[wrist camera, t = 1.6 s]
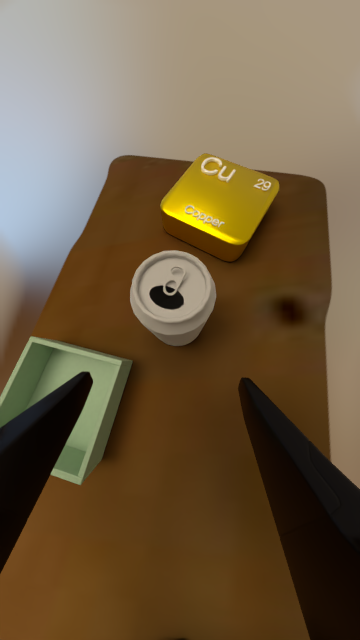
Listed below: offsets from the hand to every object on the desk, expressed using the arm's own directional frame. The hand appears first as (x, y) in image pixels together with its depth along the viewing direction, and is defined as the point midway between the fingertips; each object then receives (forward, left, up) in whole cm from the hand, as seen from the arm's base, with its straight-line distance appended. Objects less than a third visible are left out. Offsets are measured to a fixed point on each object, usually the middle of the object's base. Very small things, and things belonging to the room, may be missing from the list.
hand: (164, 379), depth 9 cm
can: (+6, -2, -13) cm, 15 cm away
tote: (0, +14, -13) cm, 19 cm away
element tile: (+23, -14, -13) cm, 30 cm away
